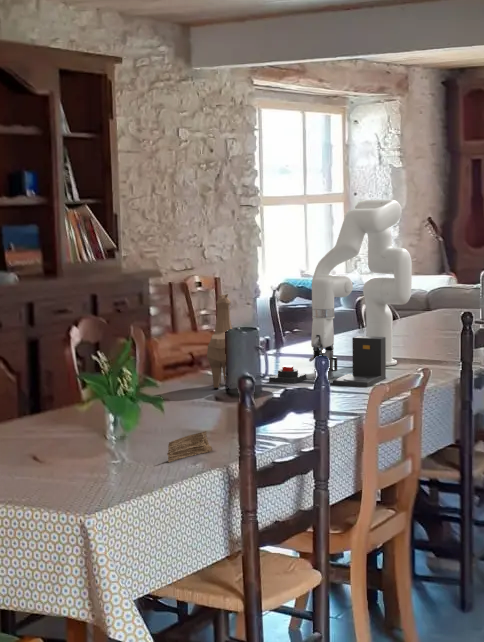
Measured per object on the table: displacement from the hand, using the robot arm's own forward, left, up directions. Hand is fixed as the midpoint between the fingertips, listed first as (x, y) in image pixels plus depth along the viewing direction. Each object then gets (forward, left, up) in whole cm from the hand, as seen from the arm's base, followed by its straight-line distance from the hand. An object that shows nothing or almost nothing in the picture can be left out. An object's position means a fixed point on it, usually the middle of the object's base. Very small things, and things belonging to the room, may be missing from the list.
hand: (323, 363), depth 398 cm
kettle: (0, 0, -5) cm, 5 cm away
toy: (+29, -24, -5) cm, 38 cm away
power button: (+10, -9, -2) cm, 14 cm away
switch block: (+10, -9, -5) cm, 14 cm away
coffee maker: (+4, +14, -5) cm, 15 cm away
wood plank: (+123, +12, -5) cm, 124 cm away
